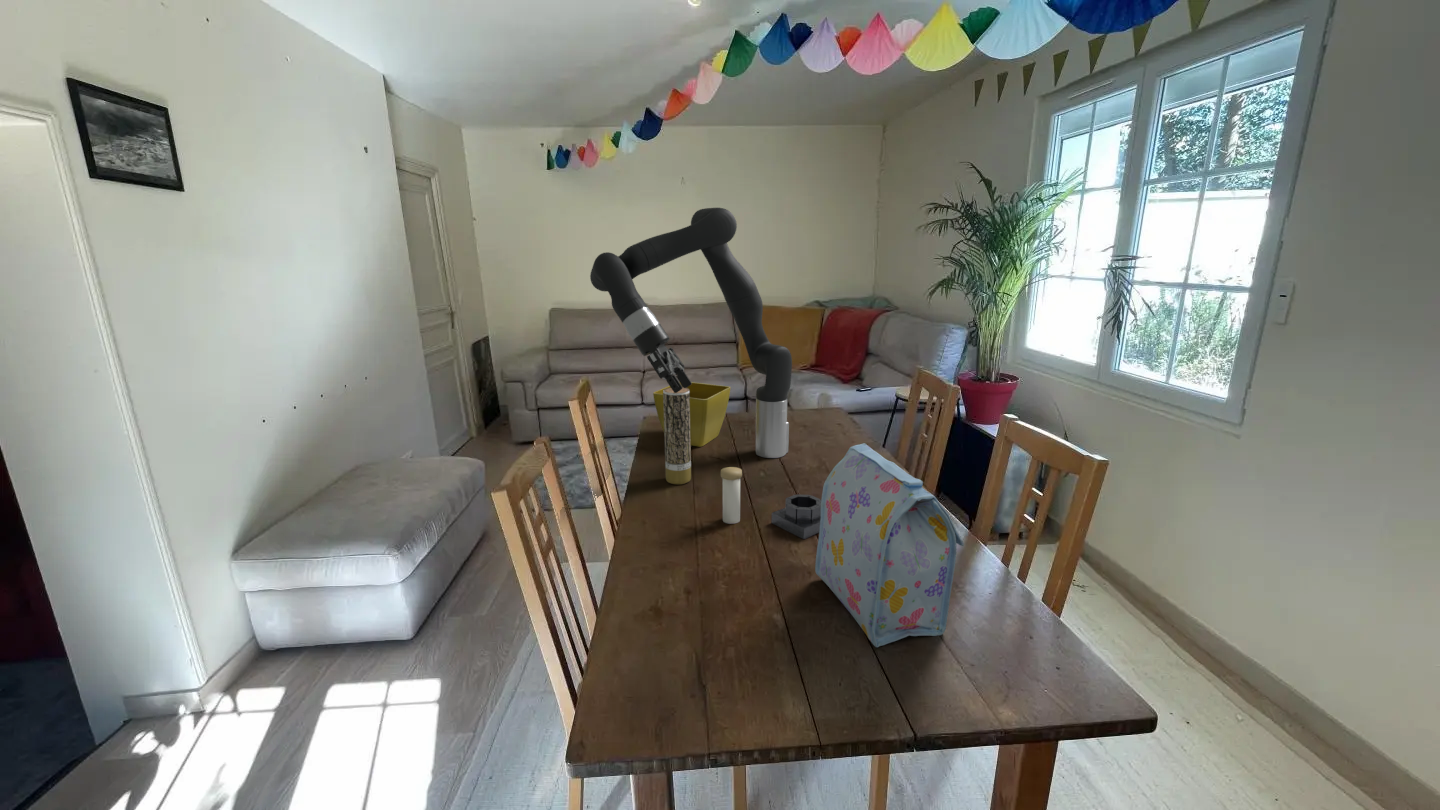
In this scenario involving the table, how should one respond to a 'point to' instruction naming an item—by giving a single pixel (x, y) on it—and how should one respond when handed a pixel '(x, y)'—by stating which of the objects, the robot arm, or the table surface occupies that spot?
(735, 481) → the white beige cylinder
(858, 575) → the lunch bag
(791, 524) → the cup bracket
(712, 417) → the flower pot
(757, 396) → the robot arm
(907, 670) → the table surface
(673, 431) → the paper tube
